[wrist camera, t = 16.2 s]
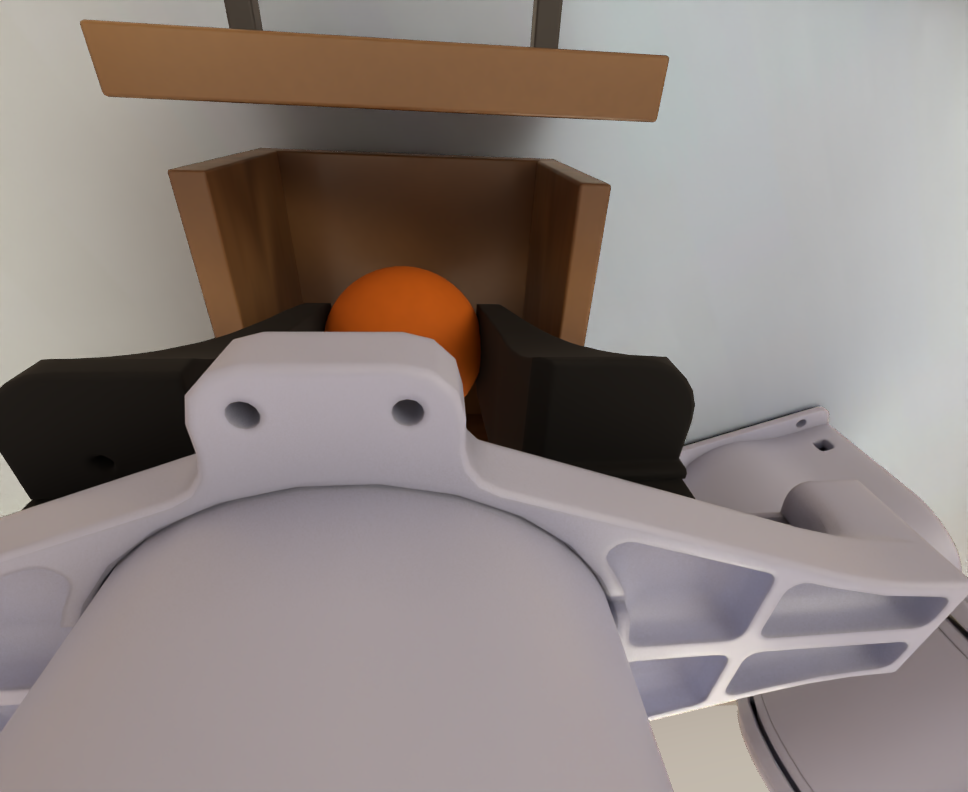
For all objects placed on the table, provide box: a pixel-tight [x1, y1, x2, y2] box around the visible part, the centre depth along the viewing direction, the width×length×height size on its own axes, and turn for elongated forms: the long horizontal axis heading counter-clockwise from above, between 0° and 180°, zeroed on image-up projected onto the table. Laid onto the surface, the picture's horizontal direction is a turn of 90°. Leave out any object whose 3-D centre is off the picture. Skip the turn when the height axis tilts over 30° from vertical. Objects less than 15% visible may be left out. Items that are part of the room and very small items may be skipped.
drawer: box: [80, 0, 669, 442], centre depth 14 cm, size 18×11×7 cm, turn 178°
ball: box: [324, 266, 481, 397], centre depth 13 cm, size 4×4×4 cm
